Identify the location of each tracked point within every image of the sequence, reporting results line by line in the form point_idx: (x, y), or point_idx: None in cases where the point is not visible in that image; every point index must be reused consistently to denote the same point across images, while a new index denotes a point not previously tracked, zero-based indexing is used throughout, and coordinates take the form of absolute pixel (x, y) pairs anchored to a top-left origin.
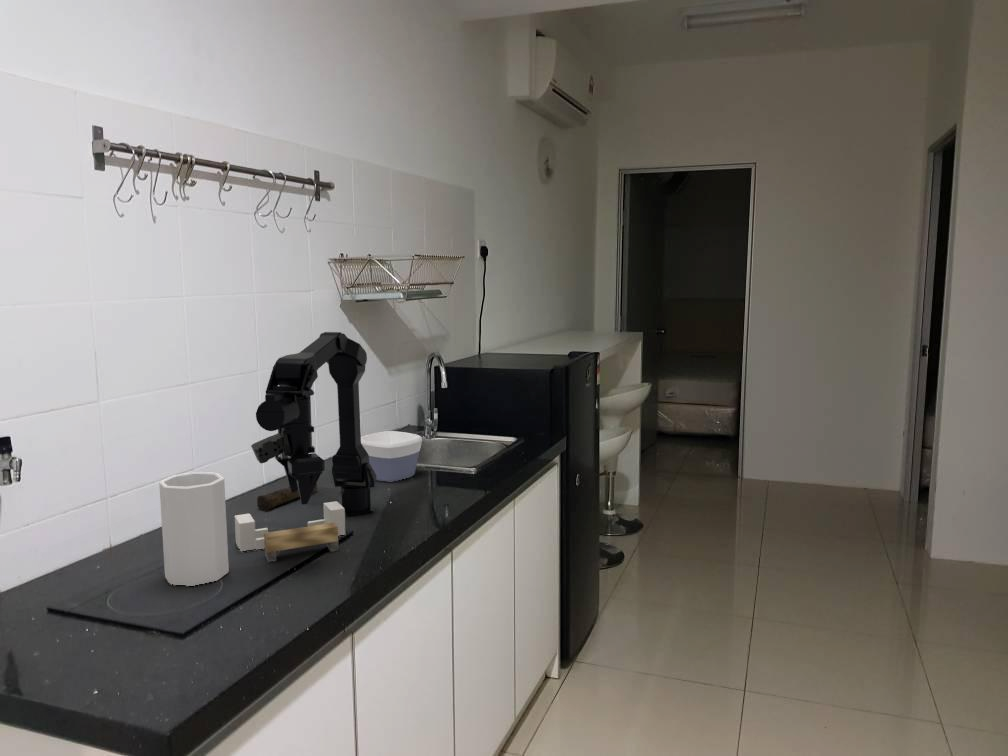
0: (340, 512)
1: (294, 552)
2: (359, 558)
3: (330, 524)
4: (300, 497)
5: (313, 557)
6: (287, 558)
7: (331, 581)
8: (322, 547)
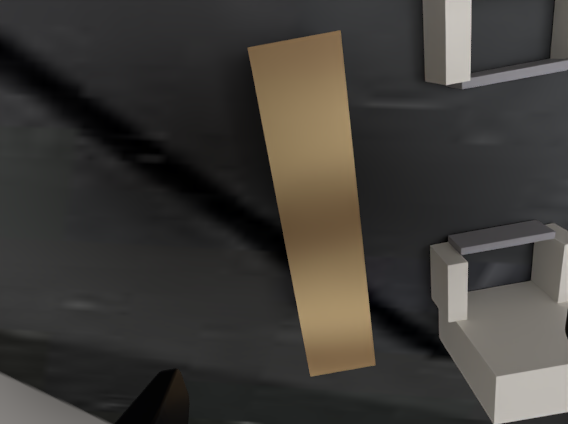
0: (485, 397)
1: None
2: (203, 360)
3: (352, 352)
4: (124, 420)
5: (256, 228)
6: None
7: (3, 272)
8: None
